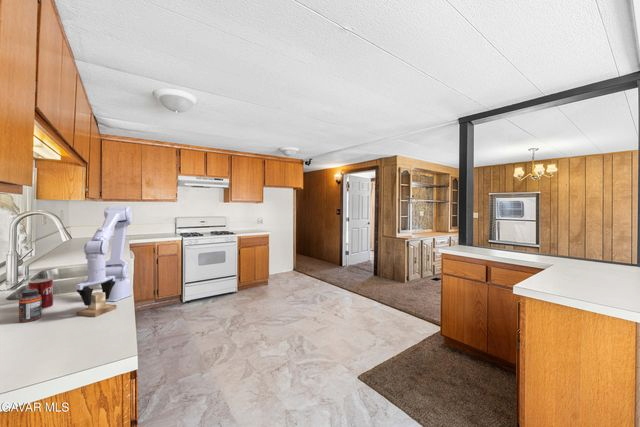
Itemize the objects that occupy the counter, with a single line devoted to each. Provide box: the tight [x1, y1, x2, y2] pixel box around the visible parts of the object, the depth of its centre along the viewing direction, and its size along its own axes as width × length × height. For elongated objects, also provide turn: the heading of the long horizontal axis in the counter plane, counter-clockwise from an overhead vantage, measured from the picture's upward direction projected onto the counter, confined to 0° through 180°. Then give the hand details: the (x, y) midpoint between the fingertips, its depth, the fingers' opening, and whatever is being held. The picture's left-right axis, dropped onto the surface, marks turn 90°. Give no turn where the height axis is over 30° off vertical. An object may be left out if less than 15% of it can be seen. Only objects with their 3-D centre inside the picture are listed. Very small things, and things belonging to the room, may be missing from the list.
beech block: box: [87, 291, 106, 310], centre depth 110 cm, size 4×4×6 cm
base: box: [76, 303, 117, 318], centre depth 110 cm, size 9×9×2 cm
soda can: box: [27, 278, 54, 311], centre depth 114 cm, size 7×7×12 cm
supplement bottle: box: [18, 289, 43, 323], centre depth 102 cm, size 6×6×11 cm
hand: (97, 301), depth 110 cm, fingers open, 7 cm apart
